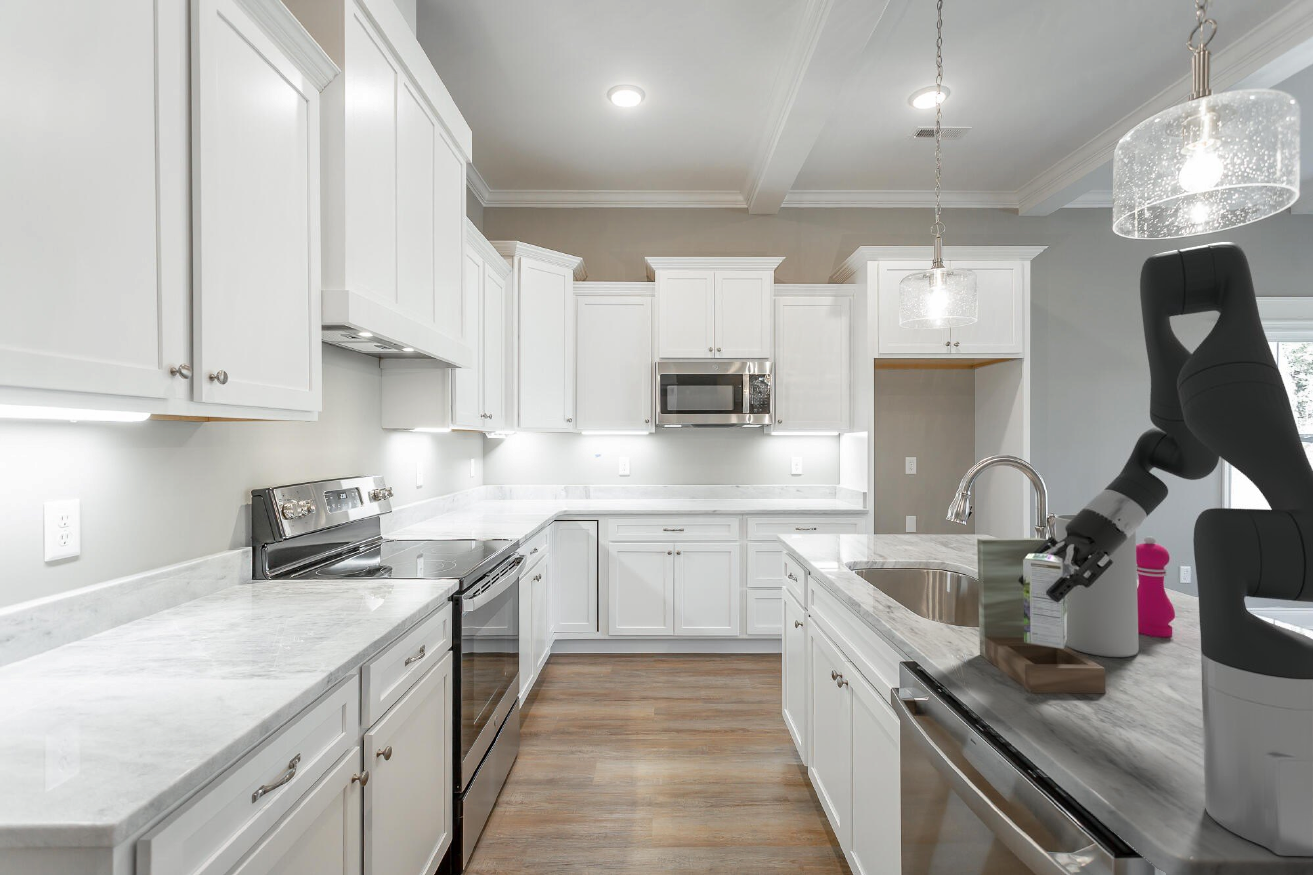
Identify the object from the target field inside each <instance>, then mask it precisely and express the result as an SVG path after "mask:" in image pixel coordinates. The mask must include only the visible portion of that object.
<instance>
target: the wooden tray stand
mask: <svg viewBox="0 0 1313 875" xmlns="http://www.w3.org/2000/svg"><path fill="white" fill-rule="evenodd" d="M1046 540H1047V539H1045V538H1041V537H1019V538H1018V537H1014V538H1013V537H1012V538H1011V537H1009V538H1008V537H1006V538H997V537H993V538H989V537H988V538H977V539H976V541H977V542H976V543H977V546H976V548H977V581H978V582H977V584H978V585H977V587H978V625H979V626H978V628H979V629H978V630H979V631H978V632H979V633H978V634H979V655H980V656H981V657H983V658H986V659H985V660H987V661H988V662H990V664H992V665H993V664H994V665H993V666H994V667H996V668H997V669H998V670H1000V671H1001V672H1002V673H1004V674H1005V673H1006V674H1005V675H1007V676H1008V677H1009V678H1011V679H1012V680H1013V681H1014V682H1016V683H1017V684H1019V685H1020V686H1021V687H1022V688H1024V689H1026V690H1027V691H1029V693H1033V694H1034V693H1035V694H1036V693H1039V694H1106V692H1107V691H1106V688H1107V687H1106V686H1107V684H1106V668H1105V667H1104V666H1102V665H1101V664H1098V663H1097V662H1095V661H1093V660H1091V659H1090V658H1087V657H1086V656H1084V655H1082V654H1080V653H1079V652H1078V651H1076V650H1074V649H1071V648H1069V647H1067V646H1065V648H1064V649H1061V648H1055V647H1048V646H1041V645H1036V644H1030V643H1025V642H1024V599H1023V586H1022V585H1021V584H1020V583H1019V581H1018V580H1019V578H1020V577H1021V576H1022V575H1023V560H1024V559H1025V557H1026V556H1027V555H1028V554H1033V553H1034V552H1035V551H1036V550H1037V549H1038V548H1039V547H1040V546H1041V545H1042V544H1043V543H1044V542H1045V541H1046Z"/></svg>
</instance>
